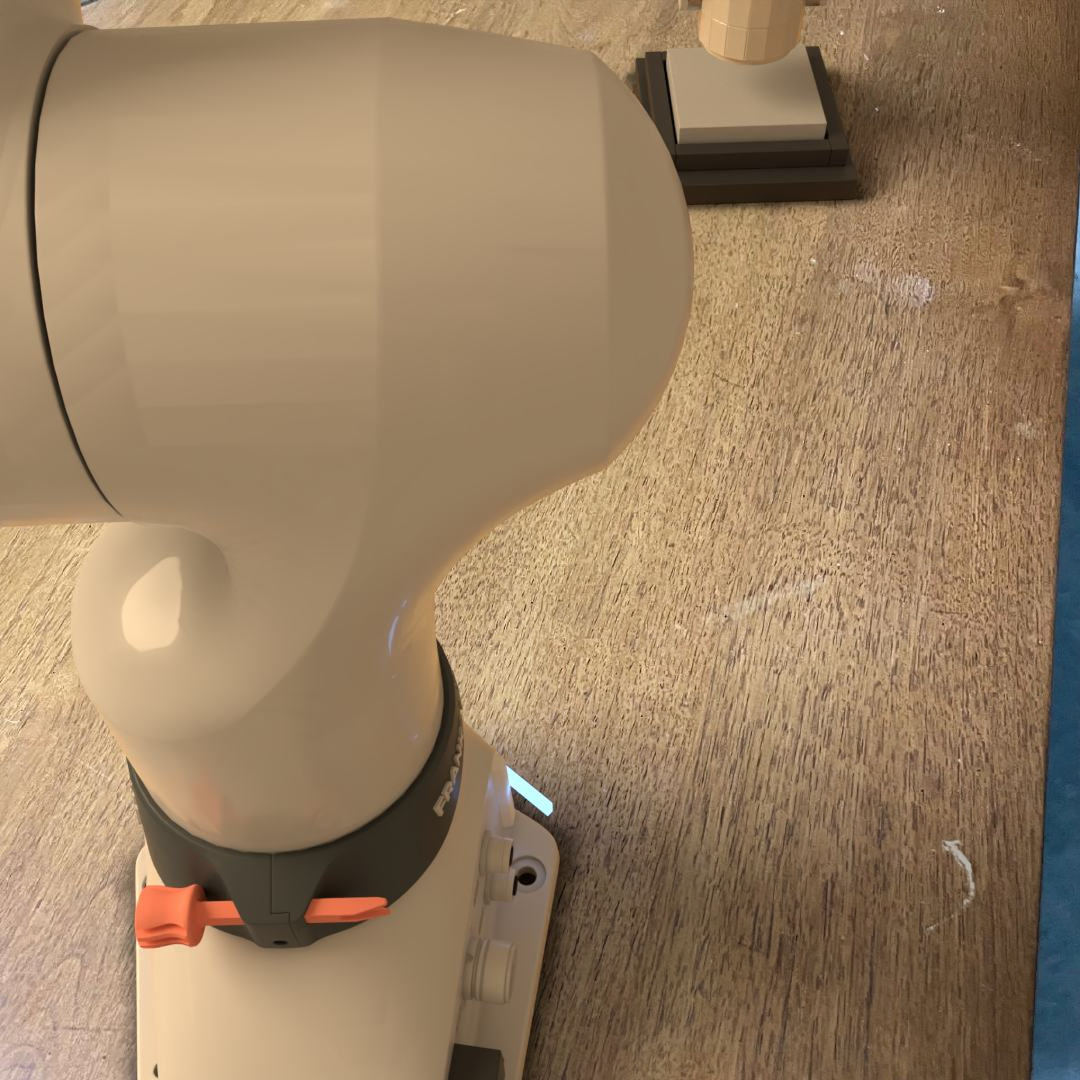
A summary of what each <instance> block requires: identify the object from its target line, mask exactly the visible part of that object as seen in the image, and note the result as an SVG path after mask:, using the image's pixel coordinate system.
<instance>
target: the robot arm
mask: <svg viewBox="0 0 1080 1080" xmlns="http://www.w3.org/2000/svg"><path fill="white" fill-rule="evenodd" d="M677 4H678V10H679V12H687V11H699V10H701V8H702V0H677ZM827 4H828V0H806V5H805V7H826V6H827ZM694 284H695V251H694V241H693V232H692V223H691V218H690V213H689V208H688V204H686V200H685V196H684V192H683V188H682V185H681V182H680V179H679V176H678V174H677V171H676V168H675V166H674V163H673V161H672V158H671V155H670V153H669V151H668V149H667V147H666V145H665V143H664V141H663V139H662V137H661V135H660V133H659V132H658V130H657V128H656V126H655V124H654V123H653V121H652V120H651V118H650V117H649V115H648V114H647V112H646V111H645V109H644V108H643V106H642V105H641V103H640V102H639V100H638V98H637V96H636V95H635V94H634V93H633V92H632V91H631V89H629V87H628V86H627V85H626V84H625V83H624V81H623V80H622V79H621V78H620V77H619V76H618V74H617V73H616V72H615V71H614V70H612V68H611V67H609V66H608V64H607V63H605V61H603V59H601V58H600V57H599V56H598V54H596V53H595V52H592V51H590V50H586V49H580V48H575V47H571V46H567V45H566V46H565V45H559V44H555V43H550V42H545V41H539V40H533V39H528V38H522V37H519V36H512V35H509V34H502V33H498V32H493V31H486V30H485V31H484V30H479V29H471V28H466V27H465V28H464V27H459V26H451V25H445V24H438V23H431V22H430V23H429V22H425V21H419V20H411V19H405V18H404V19H403V18H397V17H393V16H384V17H383V16H382V17H361V18H360V17H359V18H340V19H339V18H338V19H337V18H336V19H314V20H310V19H309V20H293V21H291V20H289V21H266V22H244V23H243V22H241V23H222V24H221V23H218V24H195V25H194V24H193V25H192V24H191V25H171V26H170V25H169V26H146V27H125V28H123V27H122V28H121V27H120V28H98V27H96V26H94V25H91V24H84V20H83V12H82V0H0V528H17V527H20V528H21V527H39V526H41V527H42V526H60V525H62V526H63V525H83V524H84V525H86V524H108V525H106V527H105V528H104V529H103V531H102V532H101V534H100V535H99V536H98V537H97V538H96V540H95V542H94V543H93V545H92V546H91V548H90V550H89V552H88V554H87V555H86V558H85V559H84V561H83V563H82V566H81V569H80V571H79V574H78V577H77V578H76V579H77V580H76V583H75V586H74V590H73V593H72V600H71V606H70V607H71V608H70V609H71V610H70V642H71V652H72V658H73V662H74V666H75V670H76V673H77V676H78V679H79V680H80V684H81V686H82V688H83V690H84V692H85V694H86V696H87V697H88V698H89V700H90V702H91V704H92V705H93V707H94V708H95V709H96V711H97V712H98V714H99V716H100V717H101V719H102V721H103V722H104V724H105V725H106V726H107V728H108V730H109V731H110V733H111V735H112V737H113V738H114V739H115V741H116V743H117V744H118V746H119V748H120V749H121V750H122V753H123V754H124V755H125V759H126V765H127V769H128V777H129V786H130V793H131V798H132V799H133V803H134V804H133V807H134V811H135V815H136V818H137V822H138V825H141V826H142V829H143V833H144V834H143V836H144V846H143V847H142V848H141V849H140V851H139V852H138V855H137V857H136V861H135V866H134V867H135V868H134V869H135V871H134V872H135V873H134V875H135V877H134V879H135V914H134V929H135V930H134V932H135V933H134V934H135V968H136V969H135V971H136V972H135V977H136V1067H137V1068H136V1071H137V1074H136V1076H137V1079H136V1080H523V1074H524V1068H525V1064H526V1063H525V1062H526V1057H527V1051H528V1045H529V1039H530V1034H531V1029H532V1023H533V1017H534V1010H535V1006H536V1000H537V994H538V987H539V982H540V978H541V971H542V966H543V961H544V960H543V959H544V956H545V955H544V954H545V949H546V942H547V937H548V931H549V926H550V920H551V915H552V909H553V903H554V897H555V892H556V885H557V880H558V875H559V868H560V862H561V861H560V852H559V849H558V848H559V847H558V844H557V842H556V839H555V837H554V836H553V835H552V834H551V832H550V831H549V830H548V829H547V828H546V827H544V826H543V825H541V824H540V823H539V822H537V821H536V820H534V819H532V818H531V817H530V816H528V815H526V814H525V813H523V812H521V811H520V810H518V809H516V808H515V804H514V803H515V802H514V798H513V793H512V788H513V789H514V790H516V792H517V793H519V794H520V795H522V797H524V798H525V799H526V800H527V801H529V803H531V804H532V805H534V806H535V808H537V809H539V811H541V812H542V813H543V814H544V815H546V816H547V817H549V815H551V814H552V813H553V802H552V801H551V800H549V799H548V798H547V797H546V796H544V795H543V794H542V793H541V792H539V790H538V789H536V788H535V787H533V786H532V785H531V784H530V783H529V782H527V781H526V780H525V779H524V778H522V777H521V776H520V775H519V774H518V773H516V772H515V771H514V770H513V769H512V768H510V767H509V766H508V765H507V763H506V759H505V757H503V755H501V754H500V753H498V752H497V749H496V748H495V747H493V745H491V744H490V743H488V741H487V740H485V739H484V737H482V736H481V735H480V734H479V733H478V732H476V731H475V729H473V728H472V727H471V726H470V725H469V724H468V723H467V722H466V721H465V719H464V718H465V717H464V715H463V714H461V711H463V708H464V707H463V702H462V697H461V692H460V689H459V685H458V682H457V679H456V674H455V672H454V670H453V668H452V666H451V664H450V661H449V659H448V657H447V655H446V653H445V650H444V648H443V646H442V644H441V643H440V641H439V639H438V637H437V633H436V632H437V631H436V592H437V590H438V587H439V586H440V585H441V583H442V582H443V580H444V579H445V578H446V577H447V575H448V574H449V573H450V571H452V570H453V568H454V567H455V566H456V565H457V563H459V561H460V560H461V559H462V558H463V557H464V556H465V555H466V554H468V553H469V552H470V550H471V549H473V548H474V546H476V545H477V544H479V542H480V541H482V540H484V538H485V537H487V535H489V534H490V533H492V531H494V530H495V529H496V528H498V527H499V526H501V525H502V524H504V523H505V522H507V521H508V520H509V519H510V518H512V517H513V516H515V515H517V514H518V513H520V512H521V511H522V510H524V509H526V508H529V507H530V506H532V505H534V504H535V503H537V502H539V501H540V500H542V499H544V498H546V497H547V496H549V495H552V494H554V493H555V492H558V491H560V490H562V489H564V488H566V487H568V486H570V485H573V484H575V483H577V482H579V481H581V480H583V479H585V478H588V477H590V476H592V475H594V474H597V473H600V472H602V471H604V470H605V469H607V468H608V467H609V466H610V465H611V464H612V463H613V462H614V461H615V460H616V459H617V458H618V457H619V456H620V455H621V454H622V453H623V452H624V451H625V450H626V449H627V448H628V447H629V445H630V444H631V443H632V441H634V439H635V438H636V437H637V436H638V434H639V433H640V432H641V431H642V430H643V428H644V426H645V425H646V423H647V422H648V420H649V419H650V417H651V415H653V412H654V411H655V409H656V408H657V406H658V404H659V403H660V402H661V399H662V398H663V395H664V393H665V391H666V388H667V387H668V385H669V383H670V381H671V379H672V377H673V374H674V372H675V369H676V367H677V364H678V362H679V358H680V356H681V353H682V350H683V347H684V343H685V339H686V335H687V331H688V328H689V327H688V326H689V321H690V317H691V312H692V307H693V306H692V304H693V295H694ZM524 874H531V875H533V876H534V877H535V881H534V882H533V883H531V884H527V885H525V884H522V883H520V881H519V878H520V877H521V876H522V875H524Z"/></svg>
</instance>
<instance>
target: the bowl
mask: <svg viewBox="0 0 1080 1080" xmlns="http://www.w3.org/2000/svg"><path fill="white" fill-rule="evenodd" d="M805 5H806V0H702V8H701V10H698V14H697V15H698V17H697V27H696V30H697V37H698V40H699V42H700V43H701V44H702V47H704V48H705V49H706V50H707V51H708V52H709V53H710V54H711V55H713V56H714V57H716V58H718V59H720V60H722V61H725V62H728V63H732V64H738V65H749V66H754V65H764V64H769V63H772V62H776V61H778V60H780V59H782V58H784V57H785V56H787V55H788V54H789V53H790V51H791V50H793V49H794V48H795V47H796V45H797V44H799V41H800V39H801V35H802V29H803V22H804V16H805V10H806V6H805Z"/></svg>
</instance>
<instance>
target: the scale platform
mask: <svg viewBox="0 0 1080 1080" xmlns="http://www.w3.org/2000/svg"><path fill="white" fill-rule="evenodd" d="M805 46H806V45H805V43H797V45H796V47H795V48H794V49H793V50H791V51H790V53H789V54H788V55H787V56H785V57H784V58H782V59H780V60H778V61H776V62H772V63H769V64H764V65H754V66H749V65H738V64H732V63H728V62H725V61H722V60H720V59H718V58H716V57H714V56H713V55H711V54H710V53H709V52H708V51H707V50H706V49H705V48H704V46H699V47H670V48H669V47H667V49H666V51H667V60H666V70H667V77H668V84H669V90H670V97H671V104H672V110H673V117H674V124H675V131H676V137H677V144H698V143H729V142H759V141H790V140H820V139H824V137H825V131H826V126H827V122H826V118H825V115H824V111H823V107H822V104H821V100H820V97H819V93H818V90H817V86H816V83H815V79H814V76H813V72H812V69H811V65H810V61H809V58H808V54H807V51H806V47H805Z"/></svg>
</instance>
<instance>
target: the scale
mask: <svg viewBox="0 0 1080 1080" xmlns="http://www.w3.org/2000/svg"><path fill="white" fill-rule="evenodd" d="M805 47H806V51H807V54H808V58H809V61H810V65H811V69H812V72H813V76H814V79H815V83H816V86H817V90H818V93H819V97H820V100H821V104H822V107H823V111H824V115H825V118H826V122H827V126H826V131H825V137H824V139H820V140H790V141H759V142H729V143H698V144H677V137H676V131H675V124H674V117H673V110H672V104H671V97H670V90H669V84H668V77H667V70H666V60H667V50H662V51H661V50H659V51H655V50H654V51H645V52H644V57H636V58H635V63H634V64H635V65H634V67H635V68H634V80H635V88H636V98H637V99H638V100H639V102H640V103H641V105H642V106H643V108H644V109H645V111H646V112H647V114H648V115H649V117H650V118H651V120H652V121H653V123H654V124H655V126H656V128H657V130H658V132H659V133H660V135H661V137H662V139H663V141H664V143H665V145H666V147H667V149H668V151H669V153H670V155H671V158H672V161H673V163H674V166H675V168H676V171H677V174H678V176H679V179H680V182H681V185H682V188H683V192H684V196H685V200H686V204H687V205H708V204H709V205H711V204H739V203H740V204H742V203H744V204H745V203H770V202H771V203H773V202H803V201H834V200H835V201H837V200H854V199H855V195H856V190H857V186H858V182H859V179H858V176H857V173H856V168H855V165H854V162H853V159H852V155H851V152H850V146H849V142H848V139H847V136H846V132H845V129H844V126H843V123H842V120H841V115H840V112H839V109H838V106H837V102H836V99H835V95H834V91H833V88H832V85H831V82H830V78H829V75H828V72H827V69H826V65H825V62H824V58H823V55H822V52H821V48H820V46H819V45H812V46H811V45H810V46H808V45H807V46H806V45H805Z"/></svg>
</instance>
